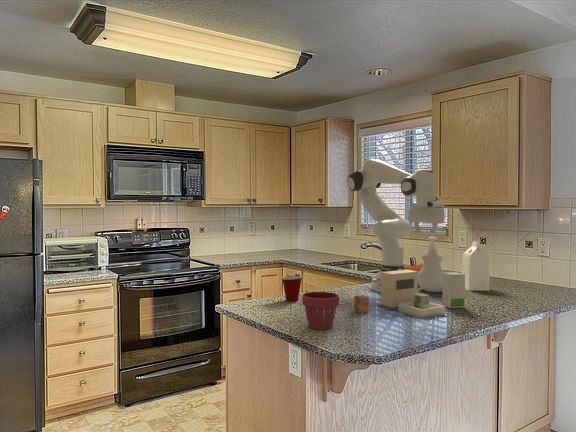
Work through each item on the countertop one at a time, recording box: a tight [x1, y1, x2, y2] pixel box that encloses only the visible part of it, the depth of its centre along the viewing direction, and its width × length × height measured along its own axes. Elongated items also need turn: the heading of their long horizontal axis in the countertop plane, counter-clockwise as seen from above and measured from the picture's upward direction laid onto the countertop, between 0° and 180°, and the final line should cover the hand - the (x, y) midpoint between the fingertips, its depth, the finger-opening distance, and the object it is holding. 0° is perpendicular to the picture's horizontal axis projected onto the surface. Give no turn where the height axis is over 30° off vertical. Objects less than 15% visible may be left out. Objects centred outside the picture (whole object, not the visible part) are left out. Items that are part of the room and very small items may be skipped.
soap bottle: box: [418, 236, 445, 293], centre depth 250 cm, size 17×12×29 cm
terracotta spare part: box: [353, 294, 370, 315], centre depth 205 cm, size 4×4×7 cm
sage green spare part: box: [414, 292, 430, 309], centre depth 203 cm, size 4×4×7 cm
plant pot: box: [301, 291, 340, 331], centre depth 180 cm, size 14×14×13 cm
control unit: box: [376, 270, 419, 312], centre depth 215 cm, size 10×18×16 cm, turn 118°
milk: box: [461, 241, 491, 292], centre depth 258 cm, size 12×12×26 cm
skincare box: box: [441, 271, 466, 309], centre depth 215 cm, size 8×7×16 cm
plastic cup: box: [280, 275, 303, 303], centre depth 228 cm, size 11×11×12 cm
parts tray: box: [397, 301, 446, 319], centre depth 203 cm, size 14×14×4 cm
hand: (425, 232), depth 219 cm, fingers open, 8 cm apart
